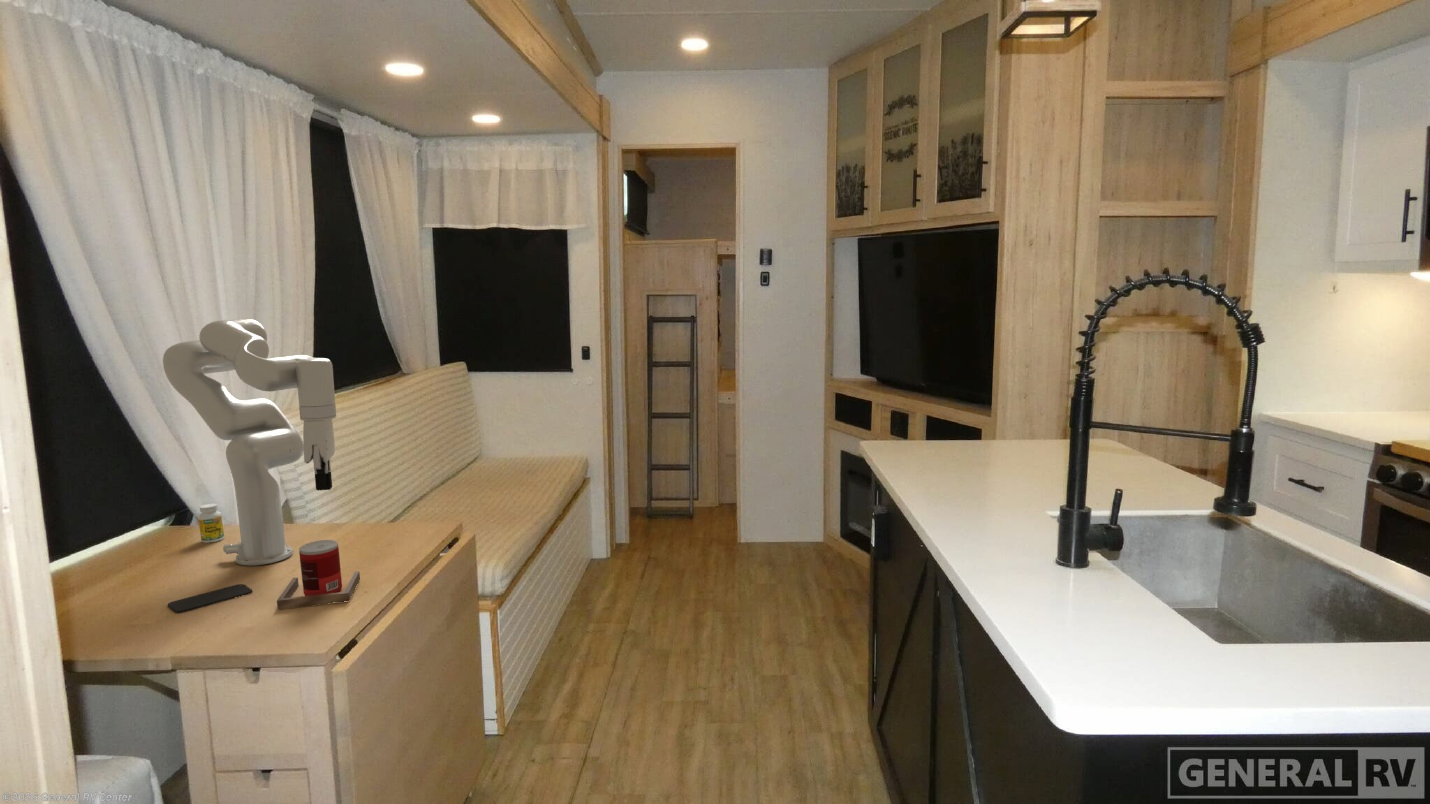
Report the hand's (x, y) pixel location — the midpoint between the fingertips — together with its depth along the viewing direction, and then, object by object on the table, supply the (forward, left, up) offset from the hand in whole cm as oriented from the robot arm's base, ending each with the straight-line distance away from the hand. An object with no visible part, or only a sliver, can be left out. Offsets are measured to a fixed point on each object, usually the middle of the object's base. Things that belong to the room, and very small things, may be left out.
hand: (324, 489), depth 191 cm
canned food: (+1, -14, -20) cm, 25 cm away
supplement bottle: (-37, +36, -20) cm, 55 cm away
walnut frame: (0, -15, -20) cm, 25 cm away
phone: (-23, -10, -21) cm, 32 cm away
